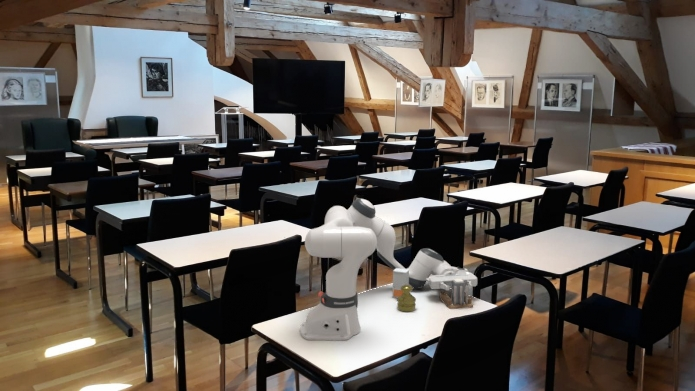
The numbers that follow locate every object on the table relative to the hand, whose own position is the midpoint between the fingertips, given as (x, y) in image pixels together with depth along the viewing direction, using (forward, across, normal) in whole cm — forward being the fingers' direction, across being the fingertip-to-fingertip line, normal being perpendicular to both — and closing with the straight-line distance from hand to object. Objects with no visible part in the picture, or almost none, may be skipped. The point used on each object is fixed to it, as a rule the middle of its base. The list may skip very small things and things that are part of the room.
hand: (459, 287), depth 232 cm
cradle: (-3, 0, +8) cm, 8 cm away
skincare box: (-13, -21, +8) cm, 26 cm away
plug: (0, 0, +8) cm, 8 cm away
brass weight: (0, -22, +8) cm, 23 cm away
